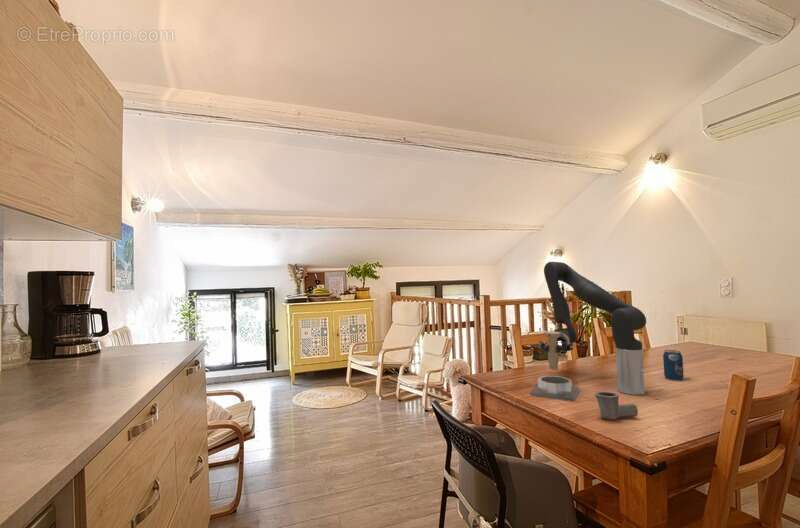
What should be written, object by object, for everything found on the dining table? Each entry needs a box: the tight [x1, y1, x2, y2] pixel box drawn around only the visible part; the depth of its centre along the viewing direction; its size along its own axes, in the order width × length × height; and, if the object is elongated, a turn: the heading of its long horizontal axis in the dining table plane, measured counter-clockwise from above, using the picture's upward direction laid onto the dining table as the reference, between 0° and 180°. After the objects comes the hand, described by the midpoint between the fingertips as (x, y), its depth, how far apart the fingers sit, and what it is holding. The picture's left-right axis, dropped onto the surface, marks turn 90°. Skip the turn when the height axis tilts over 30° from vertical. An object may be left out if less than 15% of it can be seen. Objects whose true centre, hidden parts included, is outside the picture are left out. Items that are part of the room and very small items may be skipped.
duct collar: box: [529, 375, 580, 402], centre depth 152 cm, size 16×16×5 cm
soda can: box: [662, 349, 685, 381], centre depth 165 cm, size 7×7×12 cm
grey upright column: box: [543, 330, 561, 371], centre depth 152 cm, size 5×6×15 cm
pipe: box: [594, 391, 639, 421], centre depth 124 cm, size 6×13×8 cm, turn 89°
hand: (551, 349), depth 150 cm, fingers closed on grey upright column, 3 cm apart
